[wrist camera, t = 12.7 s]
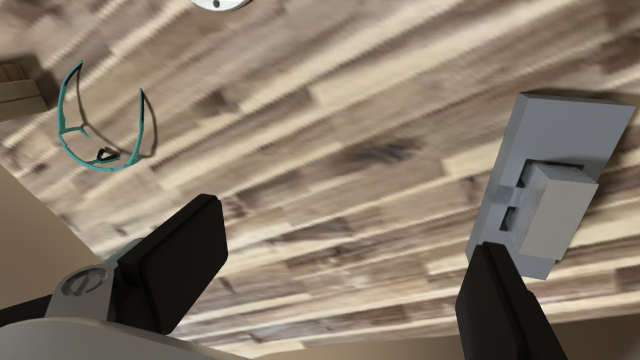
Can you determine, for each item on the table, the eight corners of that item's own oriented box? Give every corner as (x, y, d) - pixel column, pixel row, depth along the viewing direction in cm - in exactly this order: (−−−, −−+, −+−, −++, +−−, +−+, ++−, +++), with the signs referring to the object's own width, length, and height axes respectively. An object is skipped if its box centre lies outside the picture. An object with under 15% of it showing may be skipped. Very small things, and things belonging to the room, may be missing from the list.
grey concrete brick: (521, 151, 34) (549, 179, 28) (560, 155, 33) (598, 184, 27) (498, 216, 38) (518, 253, 32) (532, 221, 37) (560, 260, 31)
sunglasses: (76, 141, 51) (46, 148, 46) (81, 54, 45) (46, 53, 40) (148, 176, 50) (124, 186, 46) (162, 93, 44) (136, 95, 40)
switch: (518, 92, 32) (529, 98, 29) (615, 100, 30) (636, 106, 27) (465, 251, 42) (469, 266, 39) (535, 264, 40) (545, 280, 37)
